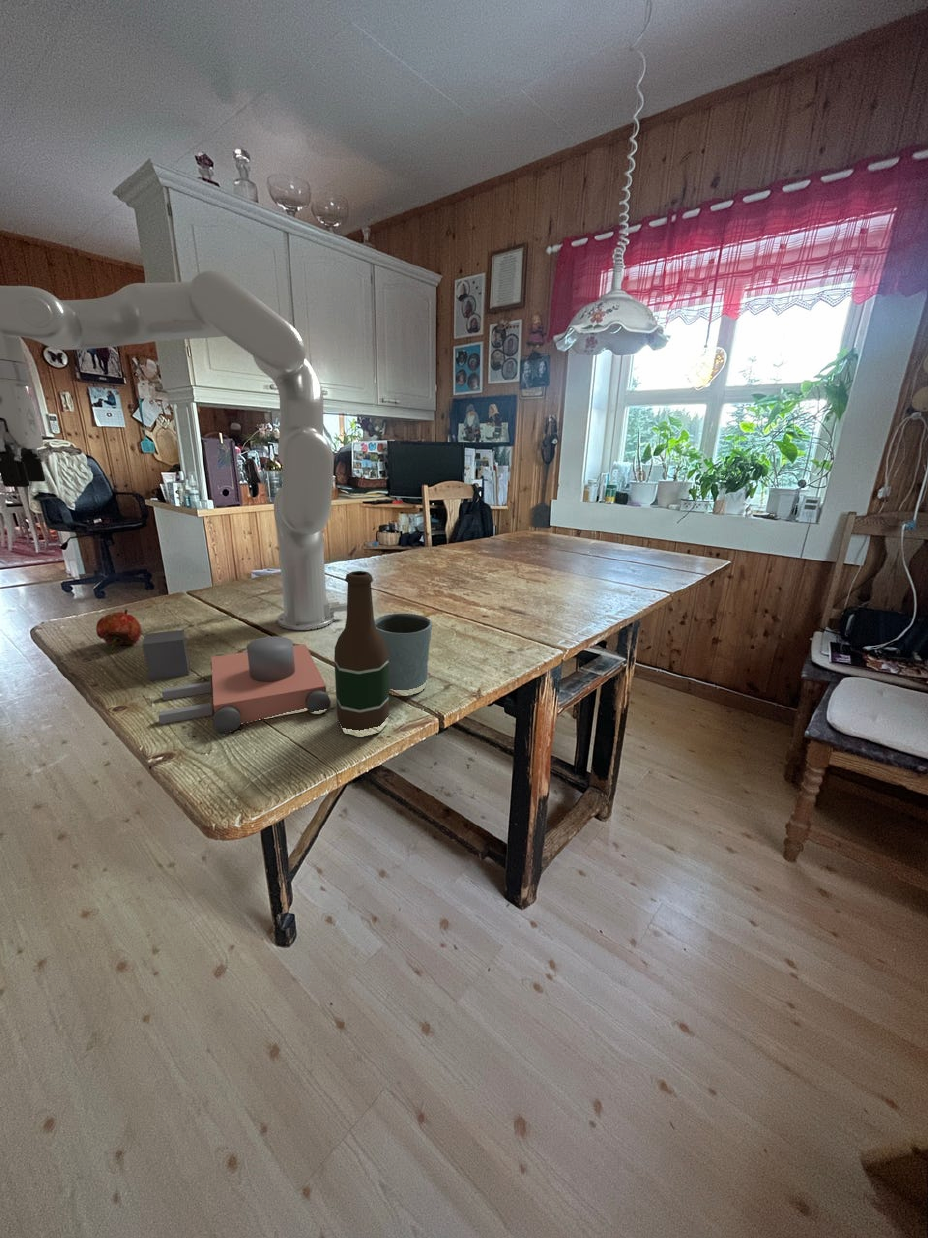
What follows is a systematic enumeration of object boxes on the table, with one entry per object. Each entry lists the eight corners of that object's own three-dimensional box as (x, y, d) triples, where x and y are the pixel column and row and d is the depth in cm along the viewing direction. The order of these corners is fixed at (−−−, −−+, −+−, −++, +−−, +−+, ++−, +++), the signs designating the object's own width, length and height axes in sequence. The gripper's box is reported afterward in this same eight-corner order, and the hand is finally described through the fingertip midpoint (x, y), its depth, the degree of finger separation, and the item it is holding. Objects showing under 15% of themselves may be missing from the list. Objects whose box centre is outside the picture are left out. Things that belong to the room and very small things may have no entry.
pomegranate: (137, 662, 95) (158, 619, 101) (110, 643, 89) (133, 599, 95) (104, 662, 96) (126, 620, 102) (75, 644, 90) (100, 600, 96)
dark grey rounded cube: (189, 664, 91) (183, 629, 88) (189, 675, 87) (183, 639, 84) (152, 669, 88) (145, 633, 86) (149, 681, 84) (142, 644, 82)
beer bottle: (341, 711, 78) (334, 565, 69) (390, 711, 78) (389, 566, 70) (333, 739, 70) (324, 580, 62) (387, 739, 71) (385, 581, 63)
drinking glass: (387, 704, 81) (387, 637, 76) (365, 678, 88) (363, 617, 84) (440, 690, 86) (442, 627, 82) (415, 668, 94) (415, 609, 90)
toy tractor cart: (306, 659, 95) (303, 616, 92) (331, 712, 77) (328, 661, 74) (165, 680, 84) (157, 632, 81) (156, 747, 67) (145, 689, 64)
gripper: (11, 371, 72) (40, 489, 78) (42, 380, 87) (65, 479, 92) (-58, 365, 69) (-22, 489, 75) (-13, 376, 83) (14, 479, 89)
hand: (26, 483), depth 84 cm, fingers open, 9 cm apart
